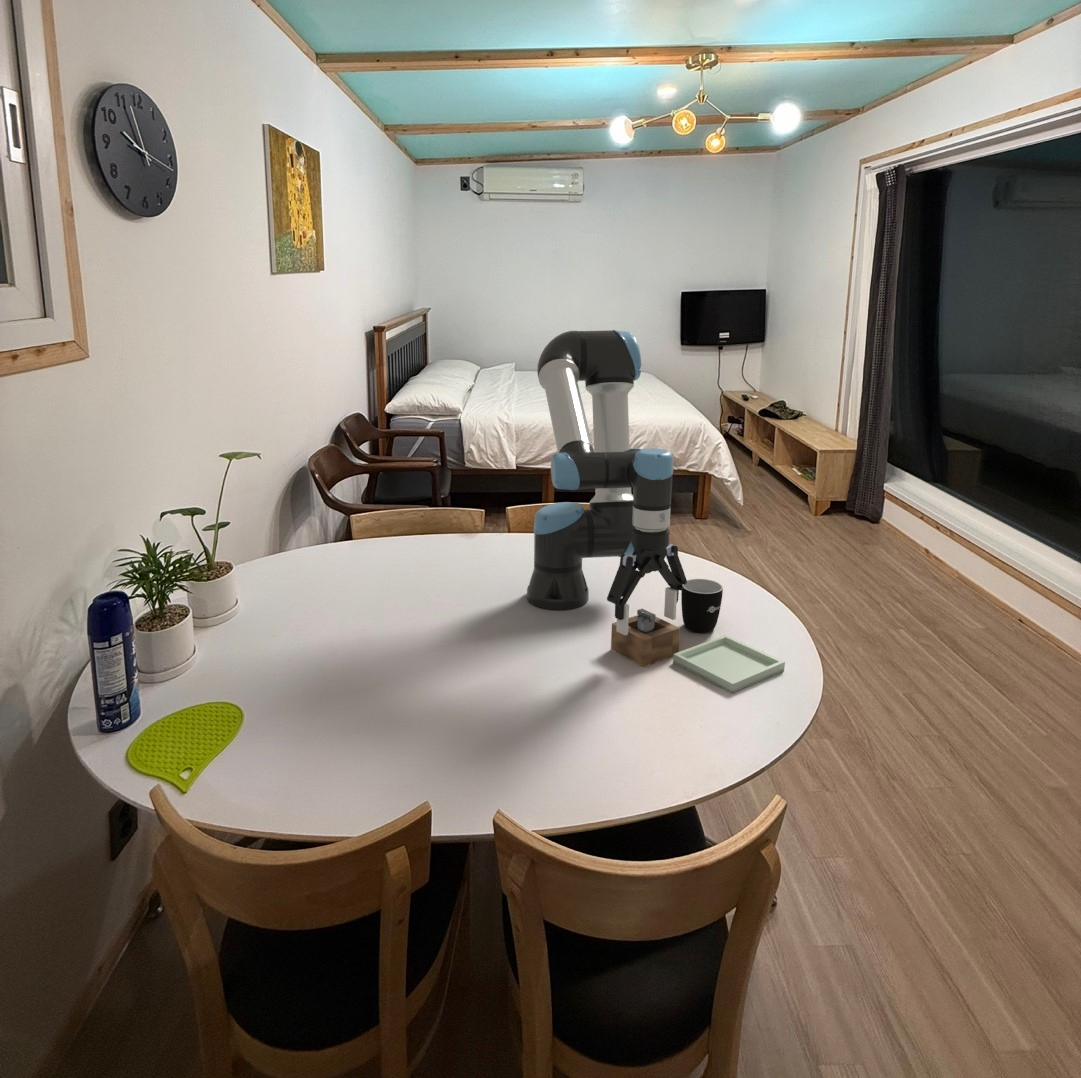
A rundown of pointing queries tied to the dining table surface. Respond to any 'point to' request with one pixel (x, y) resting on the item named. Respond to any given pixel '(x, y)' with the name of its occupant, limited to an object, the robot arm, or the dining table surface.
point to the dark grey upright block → (645, 621)
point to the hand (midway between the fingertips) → (646, 625)
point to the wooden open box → (646, 642)
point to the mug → (701, 604)
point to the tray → (728, 663)
